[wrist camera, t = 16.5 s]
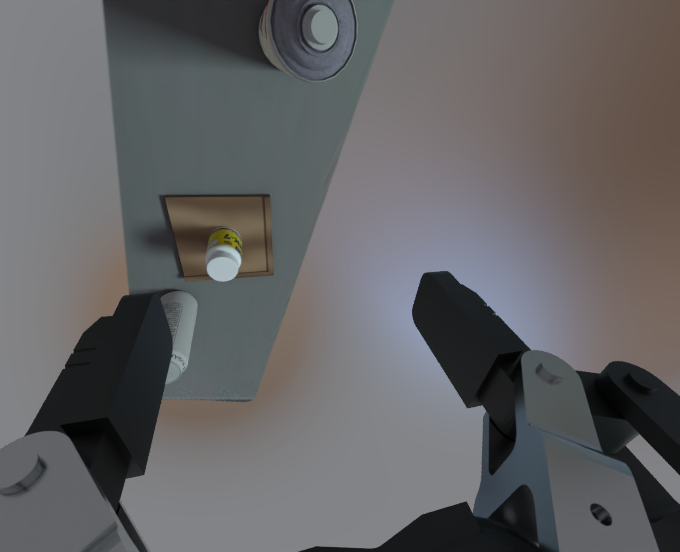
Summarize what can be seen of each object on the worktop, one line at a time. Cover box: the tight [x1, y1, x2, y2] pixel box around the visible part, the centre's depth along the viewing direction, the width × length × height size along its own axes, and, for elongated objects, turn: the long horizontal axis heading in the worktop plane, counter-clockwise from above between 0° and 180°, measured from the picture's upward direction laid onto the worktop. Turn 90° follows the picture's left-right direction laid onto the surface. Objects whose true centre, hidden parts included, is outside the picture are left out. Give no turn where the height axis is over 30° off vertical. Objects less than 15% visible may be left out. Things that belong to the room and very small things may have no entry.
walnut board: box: [165, 195, 273, 281], centre depth 48 cm, size 14×14×1 cm
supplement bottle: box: [205, 227, 242, 281], centre depth 44 cm, size 5×5×8 cm
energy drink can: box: [160, 291, 198, 385], centre depth 47 cm, size 6×6×15 cm
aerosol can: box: [258, 0, 358, 83], centre depth 28 cm, size 7×7×20 cm
